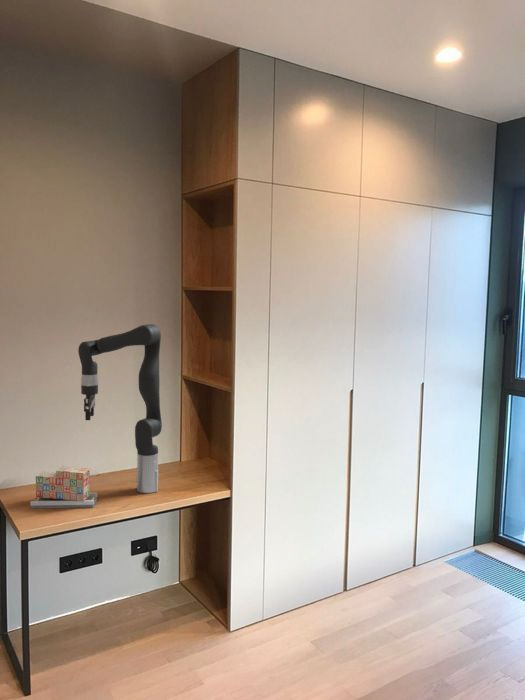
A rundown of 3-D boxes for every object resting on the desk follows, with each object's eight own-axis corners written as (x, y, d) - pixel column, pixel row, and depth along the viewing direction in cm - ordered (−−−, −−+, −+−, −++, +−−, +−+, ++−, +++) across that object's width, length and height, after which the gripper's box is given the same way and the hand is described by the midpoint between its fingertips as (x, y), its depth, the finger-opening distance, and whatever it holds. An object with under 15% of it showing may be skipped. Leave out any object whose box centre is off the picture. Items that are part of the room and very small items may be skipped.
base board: (97, 498, 244) (97, 492, 244) (93, 507, 234) (93, 501, 234) (37, 499, 241) (37, 493, 241) (30, 508, 231) (30, 502, 231)
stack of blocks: (35, 497, 236) (35, 468, 235) (43, 492, 242) (43, 464, 241) (83, 501, 233) (83, 472, 232) (90, 496, 239) (90, 468, 238)
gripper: (84, 381, 269) (84, 414, 270) (78, 386, 255) (78, 421, 256) (100, 381, 270) (100, 414, 271) (95, 386, 256) (95, 421, 257)
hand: (89, 417), depth 264 cm, fingers open, 8 cm apart
